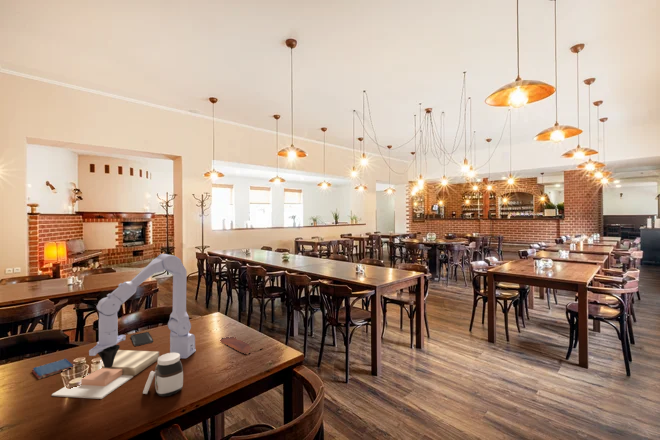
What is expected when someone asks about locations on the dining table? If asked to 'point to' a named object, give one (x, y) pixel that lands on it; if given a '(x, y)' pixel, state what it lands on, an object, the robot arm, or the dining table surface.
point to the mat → (92, 389)
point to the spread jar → (166, 375)
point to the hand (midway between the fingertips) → (108, 366)
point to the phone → (141, 338)
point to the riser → (133, 361)
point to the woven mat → (51, 368)
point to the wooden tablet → (236, 344)
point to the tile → (101, 377)
